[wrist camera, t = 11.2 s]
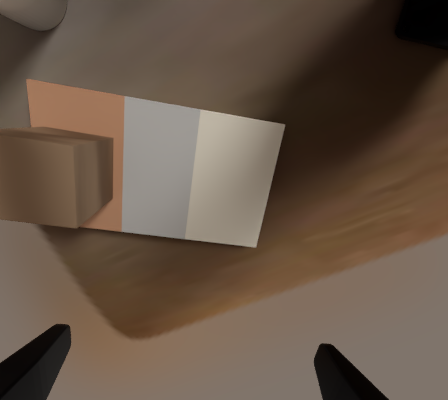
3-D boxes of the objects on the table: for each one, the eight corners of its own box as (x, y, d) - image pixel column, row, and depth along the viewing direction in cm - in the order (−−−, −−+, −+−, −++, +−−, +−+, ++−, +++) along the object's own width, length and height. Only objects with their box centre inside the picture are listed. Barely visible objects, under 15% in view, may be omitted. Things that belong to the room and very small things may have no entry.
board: (280, 124, 18) (285, 124, 16) (253, 240, 21) (256, 247, 20) (40, 81, 16) (26, 78, 15) (51, 215, 19) (41, 222, 18)
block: (113, 137, 16) (73, 146, 11) (112, 198, 17) (76, 228, 13) (44, 126, 16) (-29, 130, 11) (49, 190, 17) (-13, 217, 12)
